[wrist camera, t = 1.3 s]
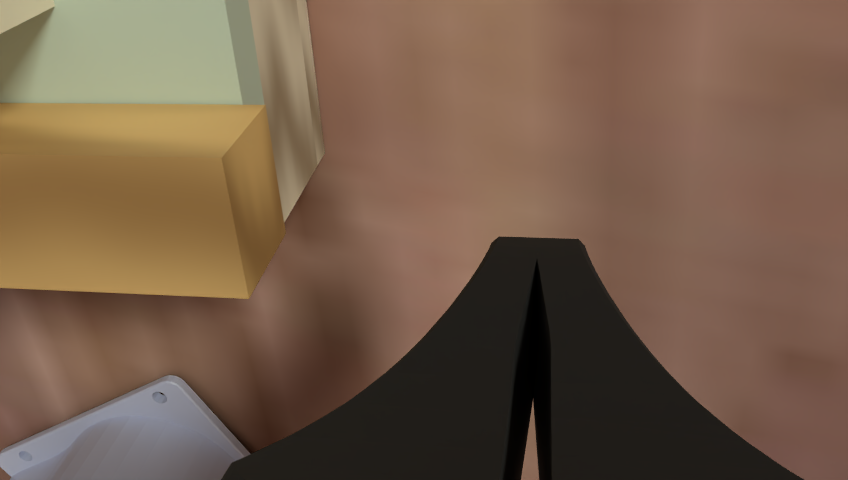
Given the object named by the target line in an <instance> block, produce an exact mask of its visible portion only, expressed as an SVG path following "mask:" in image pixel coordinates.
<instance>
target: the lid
mask: <svg viewBox="0 0 848 480" xmlns="http://www.w3.org/2000/svg"><path fill="white" fill-rule="evenodd" d="M0 103H92V104H227V105H264V98H263V92H262V86H261V79H260V73H259V67H258V60H257V54H256V48H255V42H254V35H253V29H252V23H251V16H250V10H249V4H248V0H0Z"/></svg>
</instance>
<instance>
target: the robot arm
mask: <svg viewBox="0 0 848 480" xmlns="http://www.w3.org/2000/svg"><path fill="white" fill-rule="evenodd" d="M159 392H161V393H163V394H164V395H162V394H160V393H159ZM532 402H534V416H535V429H536V443H537V456H538V469H539V480H804V479H802V478H800V477H799V476H797V475H795V474H794V473H792V472H790V471H789V470H787V469H786V468H784V467H782V466H781V465H779V464H778V463H777V462H775V461H774V460H772V459H771V458H769V457H768V456H766V455H765V454H764V453H762V452H761V451H759V450H758V449H756V448H755V447H754V446H752V445H751V444H749V443H748V442H746V441H745V440H744V439H742V438H741V437H740V436H739V435H737V434H736V433H735V432H733V431H732V430H731V429H729V428H728V427H727V426H726V425H725V424H723V423H722V422H721V421H720V420H719V419H717V418H716V417H715V416H714V415H713V414H711V413H710V412H709V411H708V410H707V409H705V408H704V407H703V406H702V405H701V404H700V403H698V402H697V401H696V400H695V399H694V398H693V397H692V396H691V395H690V394H689V393H688V392H687V391H686V390H685V389H684V388H683V387H682V386H681V385H680V384H679V383H678V382H677V381H676V380H675V379H674V378H673V377H672V376H671V375H670V374H669V373H668V372H667V371H666V370H665V368H664V367H663V366H662V365H661V364H660V363H659V362H658V360H657V359H656V358H655V357H654V356H653V355H652V353H651V352H650V351H649V350H648V348H647V347H646V346H645V345H644V343H643V342H642V341H641V340H640V338H639V337H638V336H637V334H636V333H635V332H634V331H633V329H632V328H631V326H630V325H629V324H628V322H627V321H626V319H625V318H624V316H623V315H622V313H621V312H620V310H619V309H618V307H617V306H616V304H615V303H614V301H613V300H612V298H611V297H610V295H609V294H608V292H607V290H606V289H605V287H604V285H603V283H602V282H601V280H600V278H599V276H598V274H597V272H596V271H595V269H594V267H593V265H592V263H591V260H590V258H589V256H588V253H587V251H586V248H585V246H584V245H583V244H582V242H581V241H580V240H579V239H559V238H526V237H498V238H497V239H496V240H494V241H493V242H492V243H491V245H490V248H489V250H488V252H487V253H486V255H485V257H484V259H483V261H482V262H481V264H480V265H479V267H478V269H477V270H476V272H475V273H474V275H473V276H472V278H471V279H470V281H469V282H468V283H467V285H466V286H465V287H464V289H463V290H462V291H461V293H460V294H459V295H458V297H457V298H456V300H455V301H454V302H453V304H452V305H451V306H450V307H449V309H448V310H447V311H446V312H445V313H444V314H443V316H442V317H441V318H440V319H439V320H438V321H437V322H436V324H435V325H434V326H433V327H432V328H431V329H430V330H429V331H428V333H427V334H426V335H425V336H424V337H423V338H422V339H421V340H420V341H419V342H418V343H417V344H416V345H415V346H414V347H413V348H412V349H411V350H410V351H409V352H408V353H407V354H406V355H405V356H404V357H403V358H402V359H401V360H399V361H398V362H397V363H396V364H395V365H394V366H393V367H392V368H391V369H389V370H388V371H387V372H386V373H385V374H383V375H382V376H381V377H380V378H378V379H377V380H376V381H375V382H373V383H372V384H371V385H370V386H368V387H367V388H366V389H364V390H363V391H362V392H360V393H359V394H358V395H356V396H355V397H354V398H352V399H351V400H349V401H348V402H346V403H345V404H343V405H342V406H340V407H338V408H337V409H335V410H334V411H332V412H331V413H329V414H327V415H326V416H324V417H322V418H321V419H319V420H317V421H315V422H314V423H312V424H310V425H308V426H307V427H305V428H303V429H301V430H299V431H298V432H296V433H294V434H292V435H290V436H288V437H286V438H284V439H282V440H280V441H277V442H275V443H273V444H271V445H269V446H267V447H265V448H263V449H261V450H258V451H256V452H254V453H252V454H250V453H249V452H248V451H247V449H246V448H245V447H244V446H243V445H242V444H241V443H240V442H239V441H238V440H237V438H236V437H235V436H234V435H233V434H232V433H231V432H230V431H229V430H228V429H227V427H226V426H225V425H224V424H223V423H222V422H221V421H220V420H219V419H218V418H217V416H216V415H215V414H214V413H213V412H212V411H211V410H210V409H209V408H208V406H207V405H206V404H205V403H204V402H203V401H202V400H201V399H200V398H199V397H198V395H197V394H196V393H195V392H194V391H193V390H192V389H191V388H190V387H189V386H188V384H187V383H186V382H185V381H184V380H182V379H181V378H180V377H177V376H174V375H167V376H164V377H162V378H159V379H157V380H155V381H153V382H151V383H148V384H146V385H144V386H142V387H140V388H137V389H135V390H133V391H131V392H128V393H126V394H124V395H122V396H120V397H117V398H115V399H113V400H111V401H108V402H106V403H104V404H102V405H100V406H97V407H95V408H93V409H91V410H88V411H86V412H84V413H82V414H80V415H77V416H75V417H73V418H71V419H68V420H66V421H64V422H62V423H60V424H57V425H55V426H53V427H51V428H48V429H46V430H44V431H42V432H40V433H37V434H35V435H33V436H31V437H28V438H26V439H24V440H22V441H20V442H17V443H15V444H13V445H11V446H8V447H6V448H4V449H3V450H2V451H1V452H0V467H1V468H2V469H3V470H4V471H5V472H7V473H8V474H9V475H10V476H11V477H12V478H11V479H10V480H521V475H522V468H523V461H524V455H525V448H526V442H527V435H528V428H529V422H530V415H531V408H532Z"/></svg>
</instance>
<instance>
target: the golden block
mask: <svg viewBox="0 0 848 480" xmlns="http://www.w3.org/2000/svg"><path fill="white" fill-rule="evenodd" d="M285 234H286V231H285V225H284V219H283V212H282V206H281V200H280V193H279V187H278V181H277V174H276V168H275V162H274V155H273V149H272V143H271V136H270V130H269V124H268V117H267V111H266V105H227V104H92V103H0V288H15V289H38V290H60V291H83V292H106V293H128V294H151V295H174V296H196V297H219V298H242V299H249V298H250V296H251V294H252V292H253V291H254V289H255V287H256V285H257V284H258V282H259V280H260V278H261V277H262V275H263V273H264V271H265V269H266V268H267V266H268V264H269V262H270V261H271V259H272V257H273V255H274V253H275V252H276V250H277V248H278V246H279V245H280V243H281V241H282V239H283V238H284V236H285Z"/></svg>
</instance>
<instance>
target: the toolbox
mask: <svg viewBox="0 0 848 480" xmlns="http://www.w3.org/2000/svg"><path fill="white" fill-rule="evenodd" d="M248 4H249V10H250V16H251V23H252V29H253V35H254V42H255V48H256V54H257V60H258V67H259V73H260V79H261V86H262V92H263V98H264V105H266V111H267V117H268V124H269V130H270V136H271V143H272V149H273V155H274V162H275V168H276V174H277V181H278V187H279V193H280V200H281V206H282V212H283V219H284V222H285V221H286V219H287V217H288V216H289V214H290V212H291V210H292V209H293V207H294V205H295V203H296V202H297V200H298V198H299V197H300V195H301V193H302V191H303V190H304V188H305V186H306V185H307V183H308V181H309V179H310V178H311V176H312V174H313V172H314V171H315V169H316V167H317V166H318V164H319V162H320V160H321V159H322V157H323V155H324V154H325V150H324V142H323V134H322V126H321V117H320V109H319V101H318V93H317V85H316V76H315V68H314V60H313V52H312V44H311V36H310V27H309V19H308V11H307V3H306V0H248Z"/></svg>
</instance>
